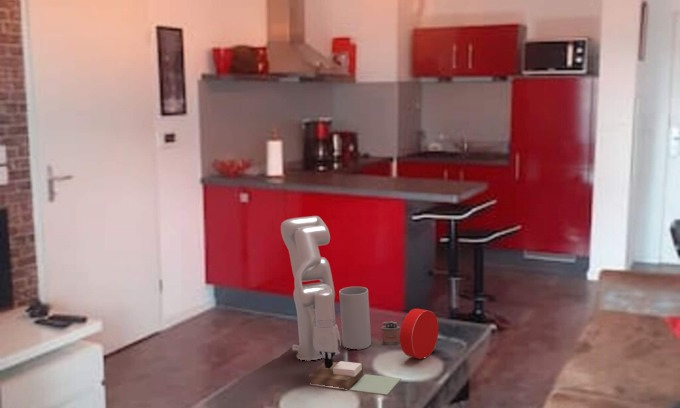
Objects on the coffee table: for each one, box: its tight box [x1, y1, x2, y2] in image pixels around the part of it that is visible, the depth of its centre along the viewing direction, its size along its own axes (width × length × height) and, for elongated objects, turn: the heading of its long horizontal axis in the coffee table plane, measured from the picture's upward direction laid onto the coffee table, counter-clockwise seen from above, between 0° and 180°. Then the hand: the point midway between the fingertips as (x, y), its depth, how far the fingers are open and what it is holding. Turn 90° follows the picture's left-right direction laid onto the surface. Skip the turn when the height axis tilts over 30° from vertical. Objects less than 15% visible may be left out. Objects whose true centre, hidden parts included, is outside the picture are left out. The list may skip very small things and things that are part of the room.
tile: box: [333, 360, 363, 377], centre depth 285 cm, size 9×7×2 cm
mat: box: [349, 373, 402, 396], centre depth 281 cm, size 15×15×1 cm
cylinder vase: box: [338, 286, 372, 351], centre depth 322 cm, size 12×12×25 cm
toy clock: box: [399, 308, 439, 360], centre depth 305 cm, size 20×6×20 cm, turn 141°
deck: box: [308, 361, 364, 391], centre depth 288 cm, size 16×15×4 cm
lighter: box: [381, 320, 401, 346], centre depth 323 cm, size 8×3×10 cm, turn 84°
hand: (328, 366), depth 288 cm, fingers closed
